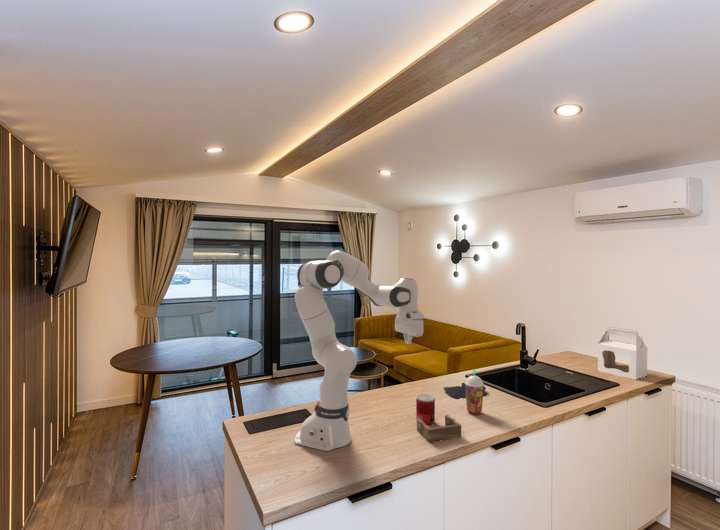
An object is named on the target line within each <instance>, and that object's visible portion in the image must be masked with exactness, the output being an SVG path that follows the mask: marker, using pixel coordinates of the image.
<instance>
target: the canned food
mask: <svg viewBox="0 0 720 530" xmlns="http://www.w3.org/2000/svg"><path fill="white" fill-rule="evenodd" d="M415 399H416V400H415V401H416V402H415V403H416V404H415V407H416V408H415V409H416V414H415V415H416V417H415V418H416V419H415V420H416V421H417V419H419V418H420V419H421V420H422V421H423V422H424V423H425V424H426V425H427V426H428V427H429V425H430V426H433V425H434V424H435V421H436V420H435V418H436V415H435V412H436V409H435V408H436V407H435V405H436V404H435V403H436V402H435V401H436V398H435V396H433V395H431V394H419V395H416V397H415Z"/></svg>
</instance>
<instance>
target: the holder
mask: <svg viewBox="0 0 720 530" xmlns="http://www.w3.org/2000/svg"><path fill="white" fill-rule="evenodd" d="M444 416H445V417H444V425H443V426H437V427H429V426H427V425H426V424H425V423H424V422H423V421H422V420H421V419H420V418H419V419H417V420H416V432H418V434H419V435H421V437H422V438H424V439H425V441H427V443H429V442H430V443H434V442H433V441H437V442H441V441H440V440H443V441H447V440H446V439H449V440H453V439H452V438H456V439H461V438H462V424H460V423H459V422H458V421H456V420H455V418H453V417H452V416H450V415H449V414H445V415H444ZM460 437H461V438H460Z"/></svg>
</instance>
